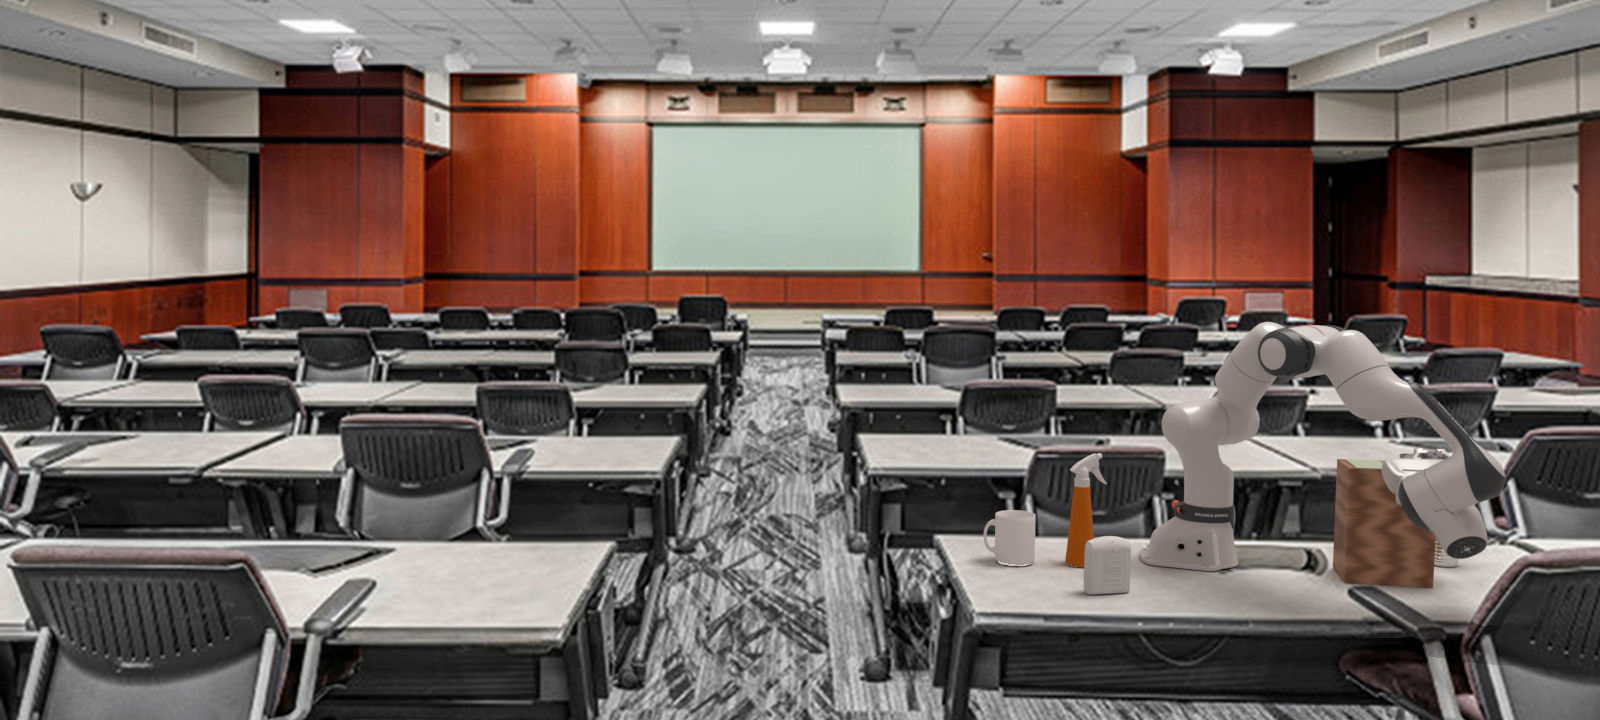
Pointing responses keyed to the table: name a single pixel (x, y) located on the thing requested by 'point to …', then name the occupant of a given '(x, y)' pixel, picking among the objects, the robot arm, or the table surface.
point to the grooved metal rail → (1425, 455)
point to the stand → (1377, 534)
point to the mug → (1013, 537)
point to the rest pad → (1365, 464)
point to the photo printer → (1107, 565)
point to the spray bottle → (1082, 509)
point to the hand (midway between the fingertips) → (1428, 450)
